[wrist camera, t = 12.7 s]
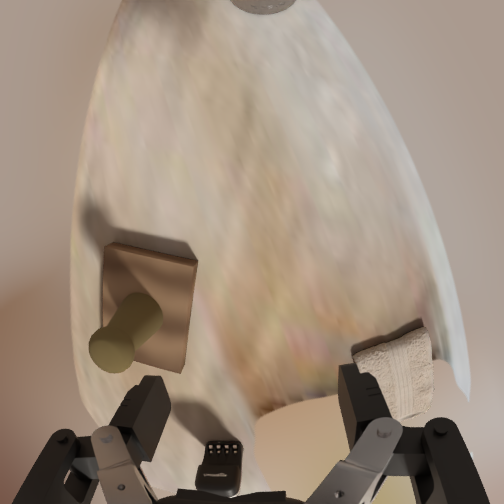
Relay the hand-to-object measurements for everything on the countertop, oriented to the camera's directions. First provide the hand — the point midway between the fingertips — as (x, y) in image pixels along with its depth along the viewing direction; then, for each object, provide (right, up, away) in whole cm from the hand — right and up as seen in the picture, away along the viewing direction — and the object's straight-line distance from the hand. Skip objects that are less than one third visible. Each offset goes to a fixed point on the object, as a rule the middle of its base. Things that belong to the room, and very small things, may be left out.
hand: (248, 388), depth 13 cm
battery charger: (-5, -28, +35) cm, 44 cm away
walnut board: (-14, -2, +28) cm, 31 cm away
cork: (-14, -2, +26) cm, 30 cm away
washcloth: (+22, -14, +30) cm, 40 cm away
